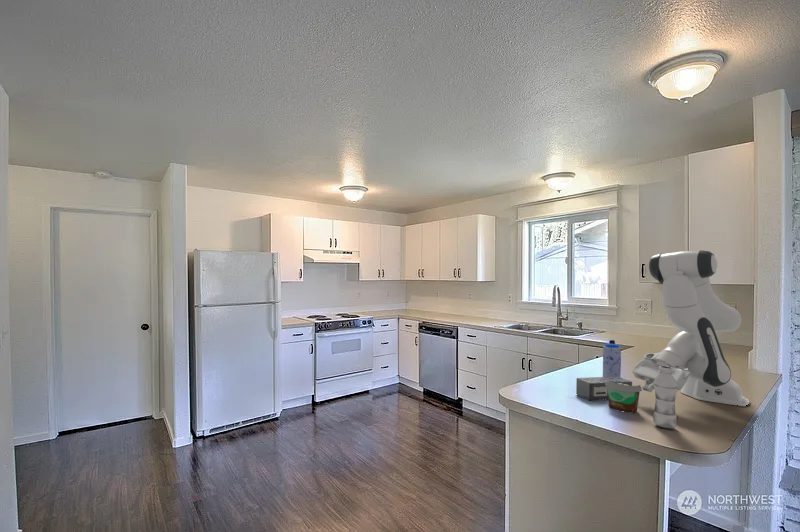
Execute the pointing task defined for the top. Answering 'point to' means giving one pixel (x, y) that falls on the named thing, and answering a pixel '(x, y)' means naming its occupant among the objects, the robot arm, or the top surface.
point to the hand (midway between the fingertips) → (645, 390)
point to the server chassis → (596, 387)
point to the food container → (623, 396)
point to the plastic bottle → (665, 398)
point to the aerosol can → (611, 360)
